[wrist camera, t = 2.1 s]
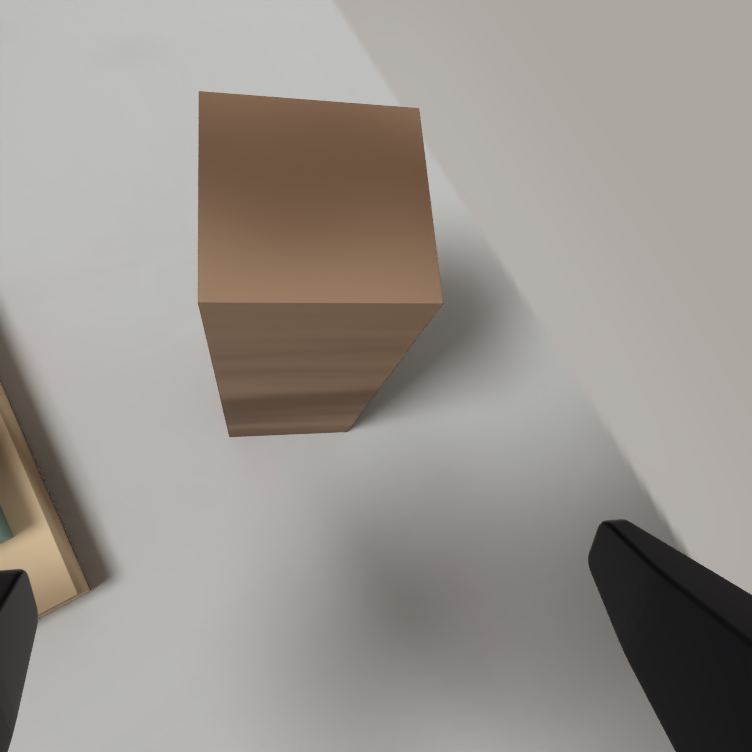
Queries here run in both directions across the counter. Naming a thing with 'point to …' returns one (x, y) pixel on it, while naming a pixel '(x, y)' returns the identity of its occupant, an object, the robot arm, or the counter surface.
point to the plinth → (33, 523)
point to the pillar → (310, 256)
